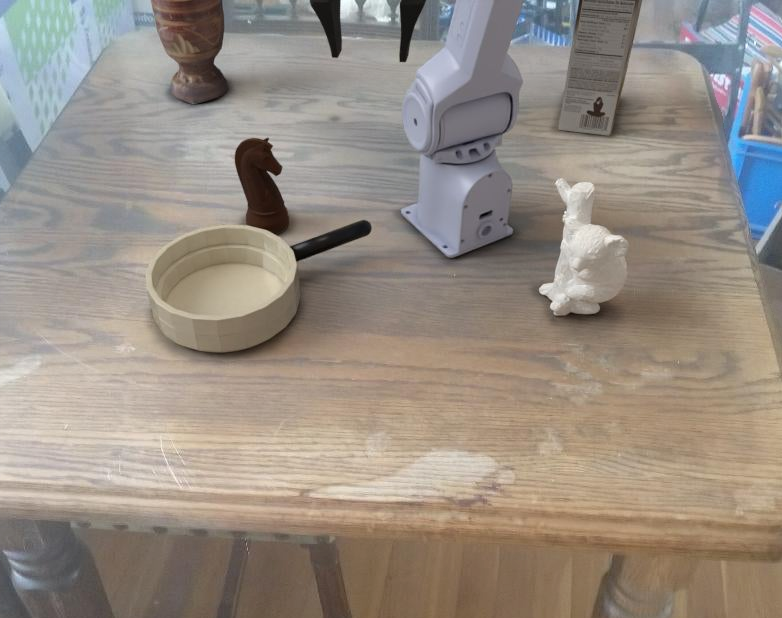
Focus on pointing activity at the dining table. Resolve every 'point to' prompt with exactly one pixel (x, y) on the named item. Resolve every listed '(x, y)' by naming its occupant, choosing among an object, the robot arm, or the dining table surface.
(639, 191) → the dining table surface
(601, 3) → the coffee box
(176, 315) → the pan
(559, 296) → the koala figurine
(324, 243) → the pan handle
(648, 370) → the dining table surface
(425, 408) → the dining table surface
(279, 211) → the chess piece
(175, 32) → the painted clay vase
